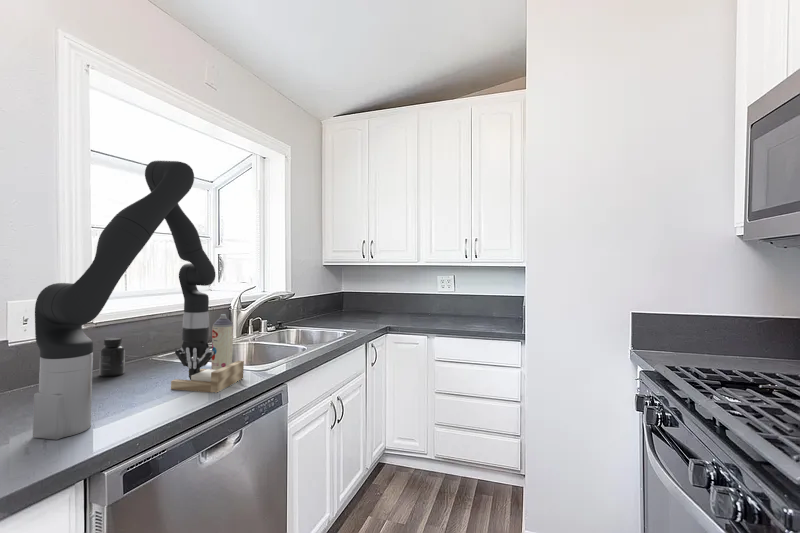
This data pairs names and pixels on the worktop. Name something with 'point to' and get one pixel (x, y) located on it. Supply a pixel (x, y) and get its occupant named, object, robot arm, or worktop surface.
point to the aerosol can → (222, 342)
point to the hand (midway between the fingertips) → (194, 379)
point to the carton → (203, 376)
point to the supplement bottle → (112, 358)
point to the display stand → (213, 379)
